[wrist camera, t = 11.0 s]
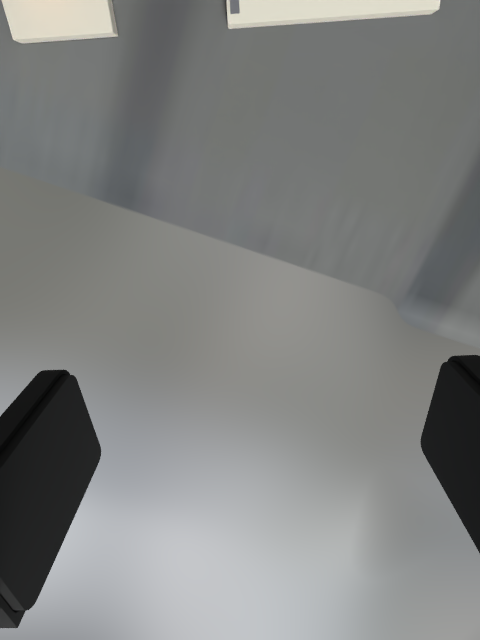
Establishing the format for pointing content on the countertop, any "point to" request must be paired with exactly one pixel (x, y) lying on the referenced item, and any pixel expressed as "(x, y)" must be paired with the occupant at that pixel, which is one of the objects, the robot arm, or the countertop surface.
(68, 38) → the stub
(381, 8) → the cream panel with window
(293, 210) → the countertop surface
